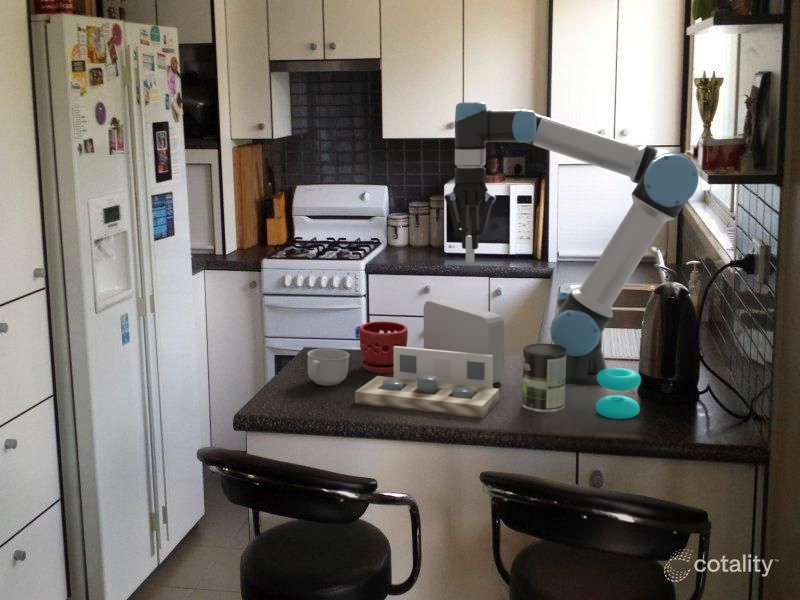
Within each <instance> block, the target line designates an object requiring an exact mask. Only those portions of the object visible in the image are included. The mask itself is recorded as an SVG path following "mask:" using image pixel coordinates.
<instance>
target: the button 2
mask: <svg viewBox="0 0 800 600" xmlns="http://www.w3.org/2000/svg"><path fill="white" fill-rule="evenodd" d="M452 397H458V398H466V399H472V398H473V389H471V388H467V387H458V388H454V389H453V390H452Z"/></svg>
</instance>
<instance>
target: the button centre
mask: <svg viewBox="0 0 800 600" xmlns="http://www.w3.org/2000/svg"><path fill="white" fill-rule="evenodd" d="M417 391H418V392H421V393H434V392H437V391H438V378H437V377H436V376H431V375H423V376H419V377H417Z"/></svg>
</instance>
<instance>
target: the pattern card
mask: <svg viewBox="0 0 800 600" xmlns="http://www.w3.org/2000/svg"><path fill="white" fill-rule="evenodd" d="M393 352H394V372H393V378H402V379H411V380H417V377H419V376H423V375H431V376H436V377H437V378H438V382H440V383H449V384H458V385H468V386H477V387H487V388H494V386H493V384H494V383H493V355H486V354H475V353H465V352H454V351H443V350H433V349H424V348H420V347H410V346H406V347H401V346H394V347H393Z"/></svg>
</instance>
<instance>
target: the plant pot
mask: <svg viewBox="0 0 800 600" xmlns="http://www.w3.org/2000/svg"><path fill="white" fill-rule="evenodd" d="M380 331H382V332H380ZM358 332H359V334H358V338H359V347H360V352H361V356H362V357H363V359H362V360H361V362H360V363H361V366H362V367H363V368H364V370H366V371H369V372H371V373H376V372H378V373H379V374H389V373H388V372H390V373H394V352H393V347H394V346H401V347H408V345H407V344H408V338H409V337H408V333H409V331H408V326H407V325H404V324H403V323H399V322H394V321H384V320H383V321H382V320H381V321H370V322H365V323H363V324H361V325H360V326H359V330H358ZM378 373H377V374H378Z"/></svg>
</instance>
